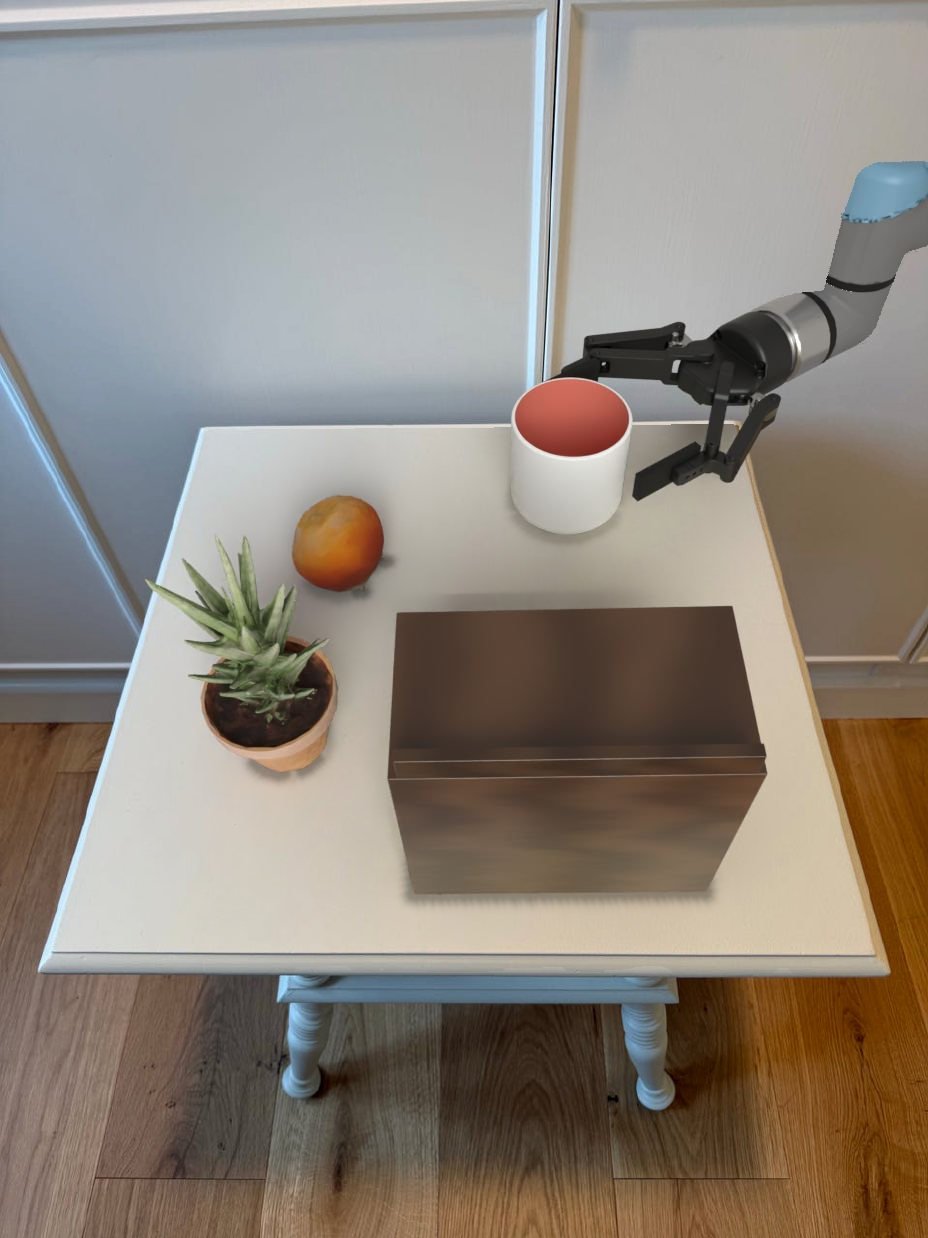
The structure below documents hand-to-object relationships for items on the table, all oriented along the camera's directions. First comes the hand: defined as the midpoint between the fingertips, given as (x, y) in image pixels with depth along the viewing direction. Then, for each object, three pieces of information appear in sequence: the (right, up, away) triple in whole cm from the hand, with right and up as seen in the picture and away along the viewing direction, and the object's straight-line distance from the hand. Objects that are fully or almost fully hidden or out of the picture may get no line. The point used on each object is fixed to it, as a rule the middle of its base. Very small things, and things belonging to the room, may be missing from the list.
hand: (585, 441), depth 80 cm
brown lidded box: (-4, -30, -14) cm, 33 cm away
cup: (-1, -5, +4) cm, 7 cm away
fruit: (-21, -11, +1) cm, 24 cm away
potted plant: (-24, -25, -9) cm, 36 cm away
